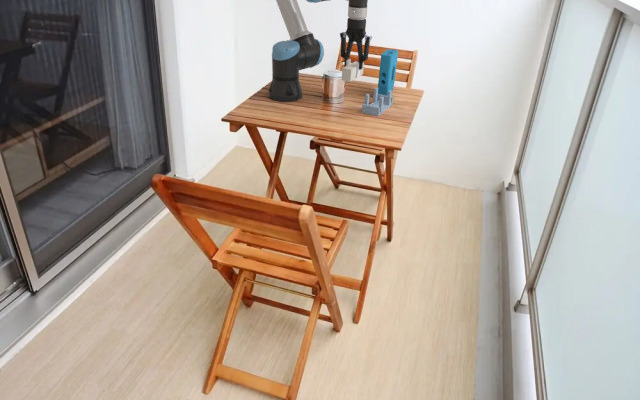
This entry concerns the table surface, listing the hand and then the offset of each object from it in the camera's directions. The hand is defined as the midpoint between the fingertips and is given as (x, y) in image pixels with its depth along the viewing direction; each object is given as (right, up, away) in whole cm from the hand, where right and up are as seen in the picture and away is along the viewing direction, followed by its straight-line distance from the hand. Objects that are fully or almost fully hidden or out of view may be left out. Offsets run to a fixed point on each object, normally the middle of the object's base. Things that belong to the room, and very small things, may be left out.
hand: (352, 75), depth 205 cm
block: (+16, -5, +18) cm, 25 cm away
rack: (+11, -13, +3) cm, 18 cm away
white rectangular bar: (0, 0, 0) cm, 1 cm away
